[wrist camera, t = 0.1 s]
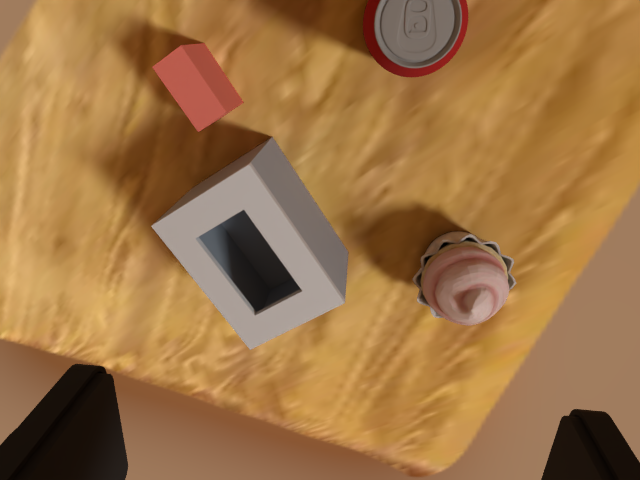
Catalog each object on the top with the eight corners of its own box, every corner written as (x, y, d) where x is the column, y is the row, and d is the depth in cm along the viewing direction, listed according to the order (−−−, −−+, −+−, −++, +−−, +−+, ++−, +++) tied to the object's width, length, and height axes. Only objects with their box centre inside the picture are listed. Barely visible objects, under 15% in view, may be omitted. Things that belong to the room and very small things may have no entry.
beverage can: (362, 67, 42) (362, 81, 31) (363, -20, 39) (363, -39, 28) (440, 65, 41) (468, 79, 30) (447, -23, 39) (480, -44, 28)
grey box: (191, 188, 48) (150, 226, 39) (272, 136, 45) (249, 164, 36) (270, 293, 52) (250, 349, 43) (348, 252, 49) (344, 303, 40)
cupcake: (443, 198, 46) (463, 240, 37) (521, 245, 47) (558, 296, 38) (390, 270, 50) (396, 325, 41) (463, 312, 51) (485, 373, 42)
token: (178, 62, 43) (152, 67, 38) (204, 43, 42) (180, 45, 37) (218, 119, 45) (198, 132, 39) (243, 102, 44) (226, 112, 39)
